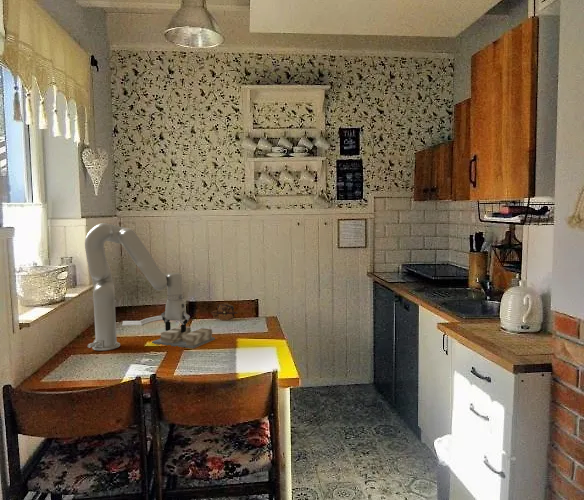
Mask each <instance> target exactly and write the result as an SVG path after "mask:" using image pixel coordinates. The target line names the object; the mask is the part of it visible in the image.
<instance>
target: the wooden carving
mask: <svg viewBox="0 0 584 500" xmlns="http://www.w3.org/2000/svg"><path fill="white" fill-rule="evenodd" d="M216 308H217V310H213V311H211V312H210V313H211V315H212V317H213V319H219V320H221V321H230V320H232V319H235V318H236V316H235V314H238V312H237V311H235V310H234V309H235V306H234V304H230V303H226V302H225V303H220V304H217V307H216Z"/></svg>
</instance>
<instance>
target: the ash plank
mask: <svg viewBox="0 0 584 500" xmlns="http://www.w3.org/2000/svg"><path fill="white" fill-rule="evenodd" d="M191 328H192V327H191V326H186V332H183V333H181V325H180V326H177V327H174V328H171V329H170V330H168V331H166V330H165V331H163V332H160V338H161V342H165V343H175V342H178V341H180V340H183V338H182V335H185V334H187V333H190V332H192V331H191V330H192V329H191Z"/></svg>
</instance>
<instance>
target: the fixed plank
mask: <svg viewBox="0 0 584 500" xmlns="http://www.w3.org/2000/svg"><path fill="white" fill-rule="evenodd" d="M212 337H213V329H212V328H205V327H201V328H198V329H196V330H194V331H191V332H190V333H187V334H185V335H182V338H183V342H186V345H190V346H194V345H196V344H199V343H201V342H203V341H206V340H208V339H211V338H212Z"/></svg>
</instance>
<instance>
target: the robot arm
mask: <svg viewBox="0 0 584 500" xmlns="http://www.w3.org/2000/svg"><path fill="white" fill-rule="evenodd" d="M106 241H107V242H111V243H115V244H119V245H121V246H122V247H123V249H124V251H126V252H127V254H128V256H130V258H131V260H132V261H133V262H134V264H135V266H137V267H138V269H139V270H140V271H141V272H142V274H143V275H144V277H145V278H146V279H147V281H148V282H149V283H150V285H151V287H152V288H153V289H154V290H157V291H162V290H164V289H166V302H165V309H164V312H162V313H160V316H162V319H163V323H164V324H165V329H164V330H165V331H168V330H171V329H172V328H171V321H178V322H180V324H181V325H180V326H181V333H183V332H186V327H187V324H188V322H190V318H191V316H190V315H189V314H188V313H187V308H186V304H185V303H186V302H185V300H184V298H185V295H183V275H182V273H181V272H169V273H164V272H163V271H162V270H161V269H160V267H159V266H158V265H157V263H156V262H155V260H154V258H153V256H152V254H151V252H150V251H149V250H148V248H147V247H146V245H145V244H144V243H143V241H142V240H141V238H140V237H139V235H138V234H137V233H136V231H135V230H133V228H130V227H123V226H118V225H114V224H111V223H107V222H101V223H97V224H96V225H95V226H94V227H92V228H91V229H90V230H89V231H88V232H87V235H86V236H85V239H84V249H85V250H84V251H85V257H86V261H87V265H88V266H87V267H88V273H89V275H90V277H91V281H92V286H93V290H92V301H93V315H94V334H95V335H94V336H95V339H93V342H90V343H88V344H87V348H89V349H90V348H92V350H94V351H98V352H99V351H100V352H101V351H110V350H111V351H112V350H115V349H118V348H119V347H120V346H121V343H120V342H118V340H117V323H116V320H117V319H116V301H115V300H116V299H115V297H116V296H115V293H116V291H115V283H114V279H113V278H114V277H113V274H112V269H111V265H110V264H109V263H110V262H108V260H107V256H106V255H107V254H106V249H105V242H106Z"/></svg>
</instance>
